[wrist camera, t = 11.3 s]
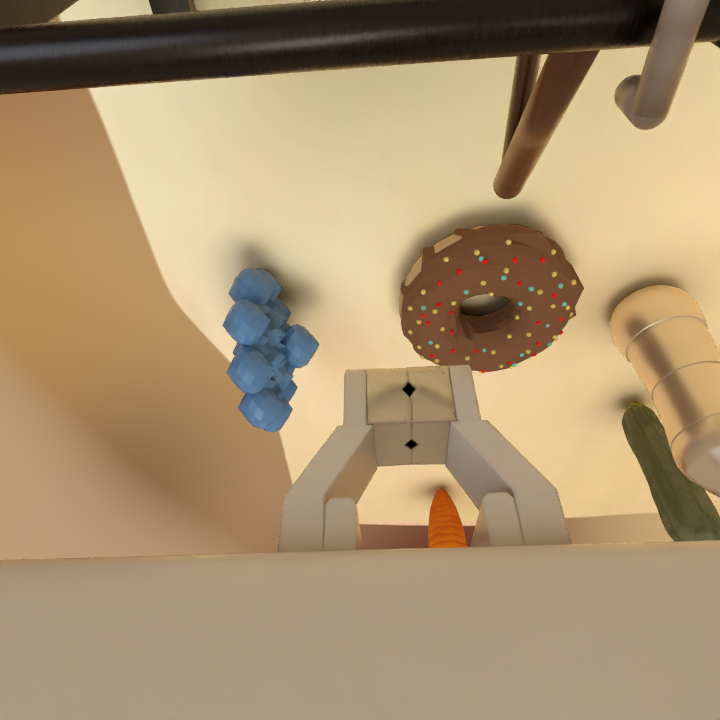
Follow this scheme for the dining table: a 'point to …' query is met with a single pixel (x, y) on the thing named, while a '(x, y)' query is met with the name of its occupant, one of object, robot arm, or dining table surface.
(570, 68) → the hanger
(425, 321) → the donut
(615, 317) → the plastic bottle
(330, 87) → the dining table surface
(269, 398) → the grapes
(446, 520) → the carrot
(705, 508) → the vegetable
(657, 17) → the rail
